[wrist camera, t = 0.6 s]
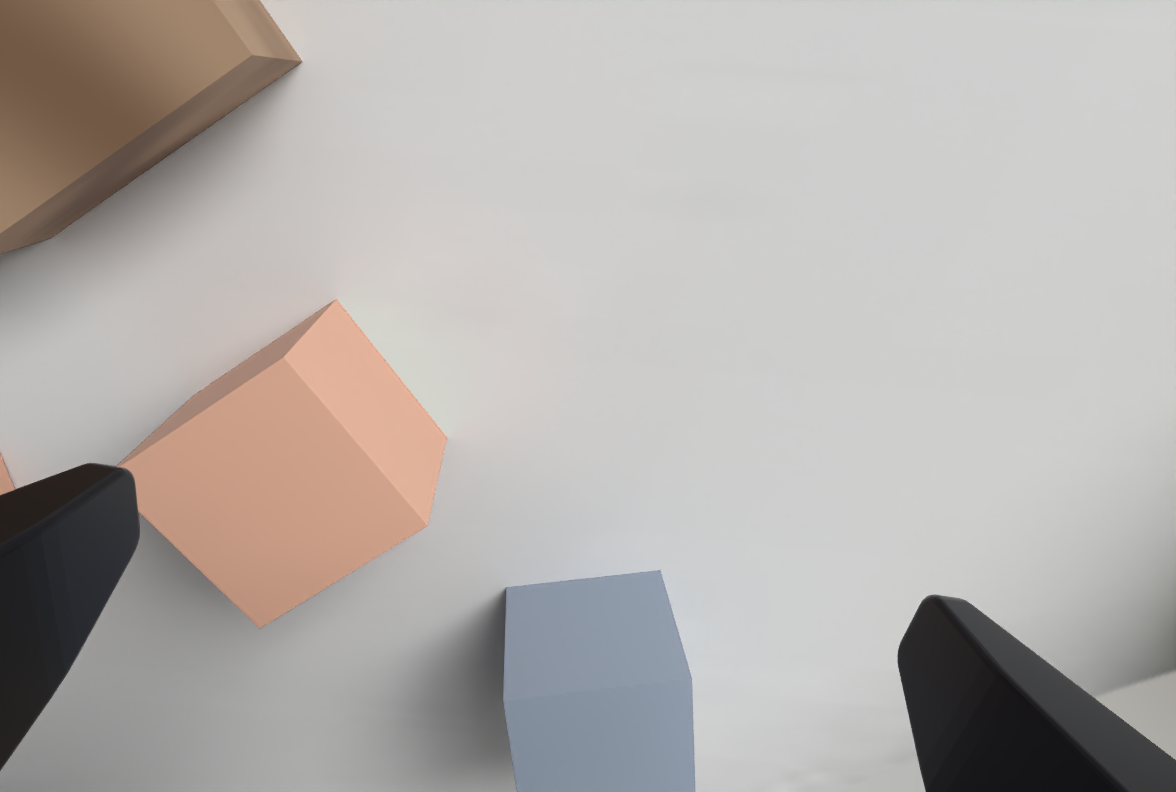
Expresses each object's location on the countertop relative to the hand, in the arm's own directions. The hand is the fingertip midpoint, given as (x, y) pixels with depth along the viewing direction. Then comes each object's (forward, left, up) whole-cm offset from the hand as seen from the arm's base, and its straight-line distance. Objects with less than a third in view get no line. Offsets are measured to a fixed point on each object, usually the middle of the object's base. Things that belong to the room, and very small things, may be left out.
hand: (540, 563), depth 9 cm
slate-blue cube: (+1, -12, -13) cm, 18 cm away
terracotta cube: (-6, -3, -13) cm, 15 cm away
